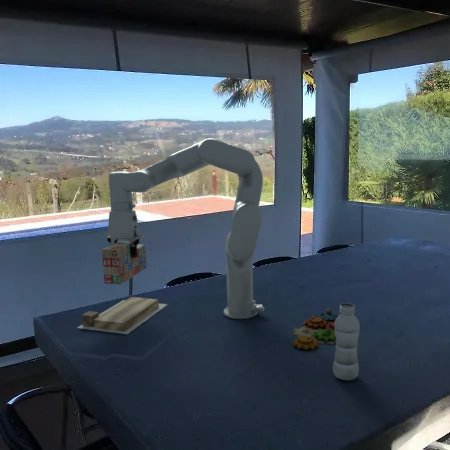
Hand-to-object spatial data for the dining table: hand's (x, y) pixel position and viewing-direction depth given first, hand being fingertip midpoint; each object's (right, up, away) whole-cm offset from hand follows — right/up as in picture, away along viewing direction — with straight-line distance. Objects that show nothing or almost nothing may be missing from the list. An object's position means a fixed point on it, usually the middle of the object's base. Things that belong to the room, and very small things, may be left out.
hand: (124, 256), depth 163 cm
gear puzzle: (+67, -25, -13) cm, 73 cm away
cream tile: (-1, -23, +6) cm, 24 cm away
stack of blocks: (0, -7, +2) cm, 7 cm away
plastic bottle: (+68, -29, -42) cm, 85 cm away
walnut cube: (-11, -24, -2) cm, 27 cm away
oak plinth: (0, -22, +4) cm, 23 cm away
